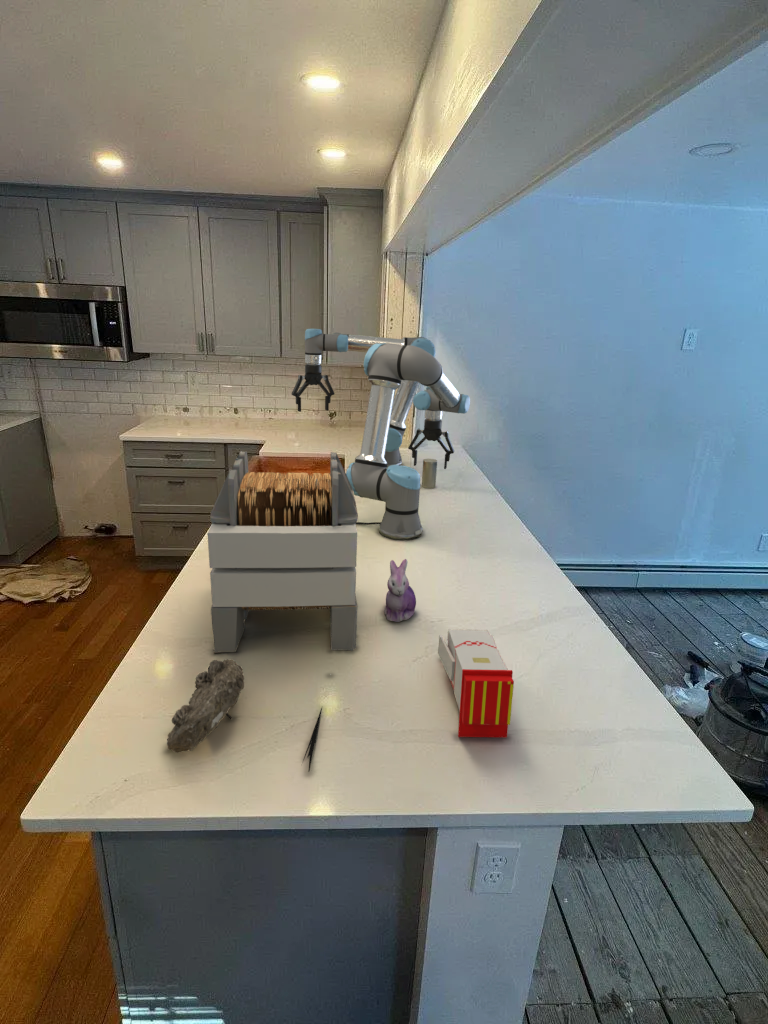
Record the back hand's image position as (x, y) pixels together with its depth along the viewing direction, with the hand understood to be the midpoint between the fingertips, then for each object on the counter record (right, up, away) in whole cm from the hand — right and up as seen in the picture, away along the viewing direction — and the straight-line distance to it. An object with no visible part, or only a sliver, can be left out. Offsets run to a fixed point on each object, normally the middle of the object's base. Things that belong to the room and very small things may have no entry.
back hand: (313, 410), depth 266 cm
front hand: (+54, -27, -14) cm, 62 cm away
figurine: (+37, -74, -118) cm, 145 cm away
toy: (+51, -85, -147) cm, 178 cm away
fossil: (0, -87, -158) cm, 180 cm away
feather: (+21, -87, -157) cm, 181 cm away
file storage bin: (+9, -74, -122) cm, 142 cm away
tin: (+53, -36, -11) cm, 65 cm away
